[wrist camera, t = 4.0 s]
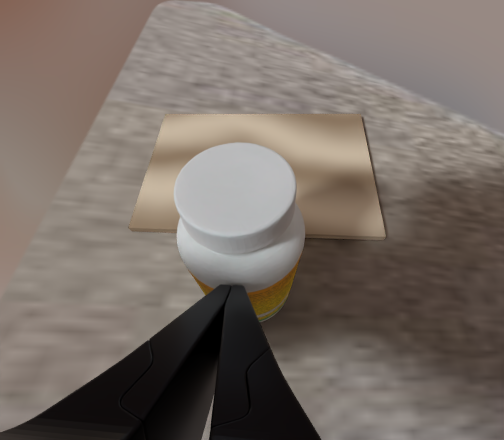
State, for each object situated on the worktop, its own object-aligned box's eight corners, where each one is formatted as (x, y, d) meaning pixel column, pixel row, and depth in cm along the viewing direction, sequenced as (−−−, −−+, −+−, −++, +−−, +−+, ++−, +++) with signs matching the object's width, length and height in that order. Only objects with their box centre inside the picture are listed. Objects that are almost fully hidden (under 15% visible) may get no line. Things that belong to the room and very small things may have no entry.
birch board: (382, 240, 17) (386, 236, 17) (132, 231, 18) (128, 227, 18) (358, 119, 23) (360, 114, 22) (167, 119, 24) (165, 114, 23)
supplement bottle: (195, 266, 17) (133, 158, 9) (265, 233, 18) (266, 112, 10) (228, 344, 14) (179, 292, 6) (307, 300, 15) (355, 206, 7)
